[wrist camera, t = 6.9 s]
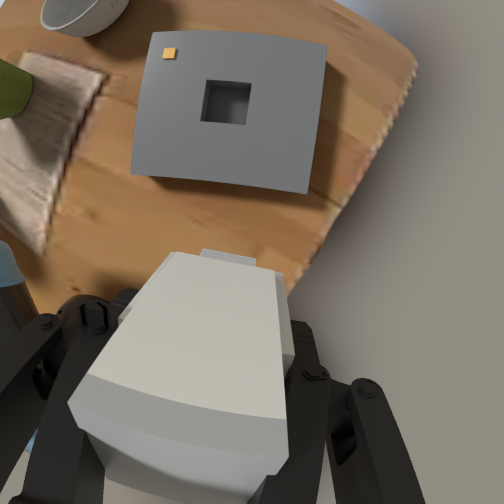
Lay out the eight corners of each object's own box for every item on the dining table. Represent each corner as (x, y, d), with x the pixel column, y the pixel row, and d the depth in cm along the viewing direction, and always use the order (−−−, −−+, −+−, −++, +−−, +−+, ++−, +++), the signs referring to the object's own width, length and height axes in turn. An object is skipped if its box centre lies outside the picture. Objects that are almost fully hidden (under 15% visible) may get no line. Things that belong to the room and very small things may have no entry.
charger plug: (256, 316, 17) (247, 511, 6) (184, 302, 17) (107, 479, 6) (272, 248, 16) (288, 457, 4) (191, 233, 15) (67, 402, 4)
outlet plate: (301, 190, 30) (307, 194, 27) (142, 171, 29) (129, 174, 26) (320, 56, 25) (328, 44, 21) (162, 42, 24) (151, 31, 21)
